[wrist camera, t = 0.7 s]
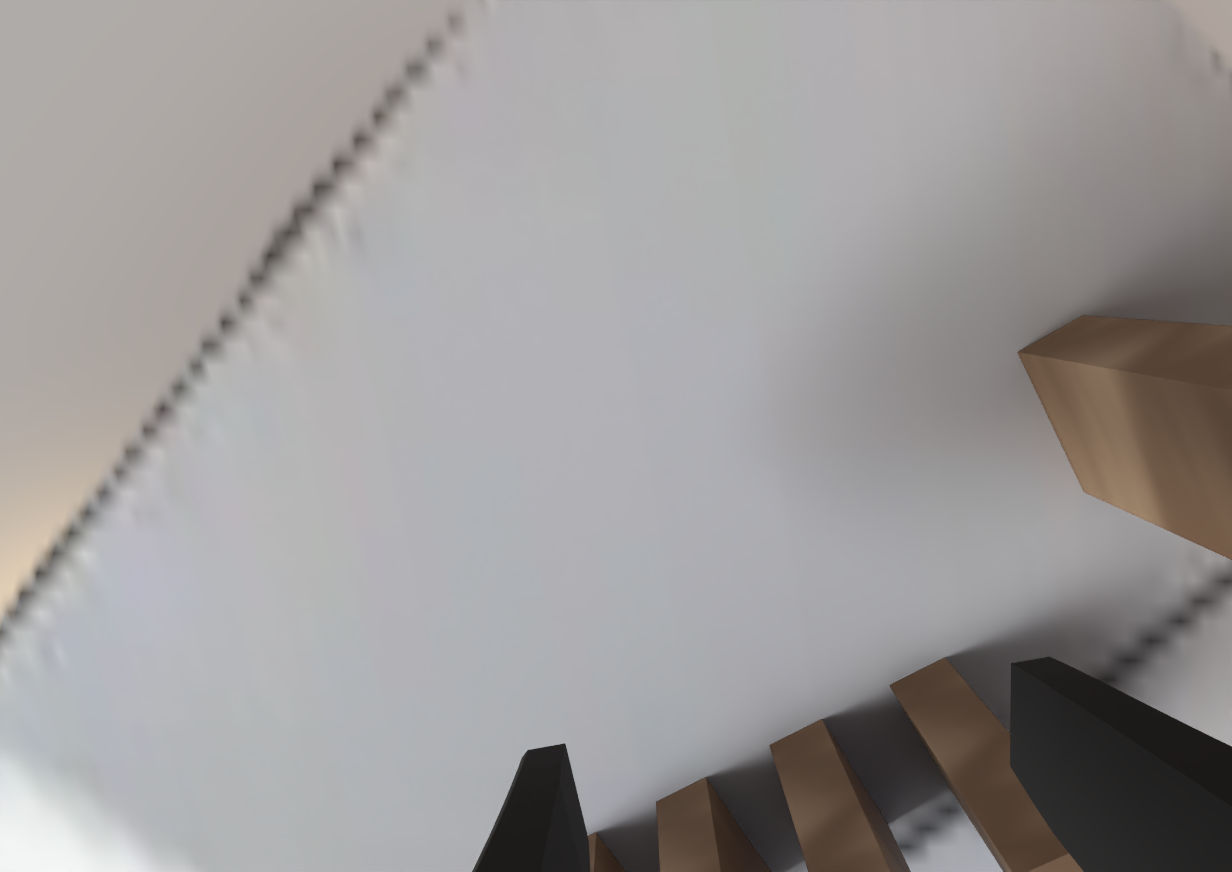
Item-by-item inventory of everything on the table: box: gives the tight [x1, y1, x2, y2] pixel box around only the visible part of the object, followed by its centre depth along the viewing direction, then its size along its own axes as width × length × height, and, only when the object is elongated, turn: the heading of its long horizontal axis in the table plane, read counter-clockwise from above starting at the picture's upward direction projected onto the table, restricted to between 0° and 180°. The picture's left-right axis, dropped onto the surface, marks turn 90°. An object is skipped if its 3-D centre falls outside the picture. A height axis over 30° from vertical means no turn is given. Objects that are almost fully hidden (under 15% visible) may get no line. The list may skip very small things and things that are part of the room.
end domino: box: [1018, 315, 1232, 560], centre depth 15 cm, size 2×5×7 cm, turn 32°
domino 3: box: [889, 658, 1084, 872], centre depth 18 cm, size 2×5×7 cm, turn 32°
